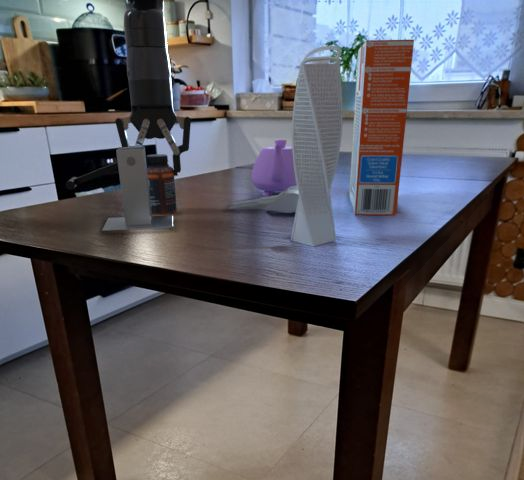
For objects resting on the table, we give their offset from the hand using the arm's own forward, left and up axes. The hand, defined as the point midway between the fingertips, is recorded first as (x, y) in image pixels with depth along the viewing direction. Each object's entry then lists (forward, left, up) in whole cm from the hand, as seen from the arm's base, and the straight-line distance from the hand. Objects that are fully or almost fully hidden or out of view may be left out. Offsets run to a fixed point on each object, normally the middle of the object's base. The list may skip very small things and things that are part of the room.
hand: (158, 175), depth 100 cm
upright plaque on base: (-4, -10, -8) cm, 13 cm away
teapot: (+28, +22, -8) cm, 37 cm away
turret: (+23, 0, -8) cm, 24 cm away
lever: (-8, -10, +1) cm, 13 cm away
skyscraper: (+25, -24, -8) cm, 36 cm away
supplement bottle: (0, 0, -8) cm, 8 cm away
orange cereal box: (+45, +4, -8) cm, 46 cm away
